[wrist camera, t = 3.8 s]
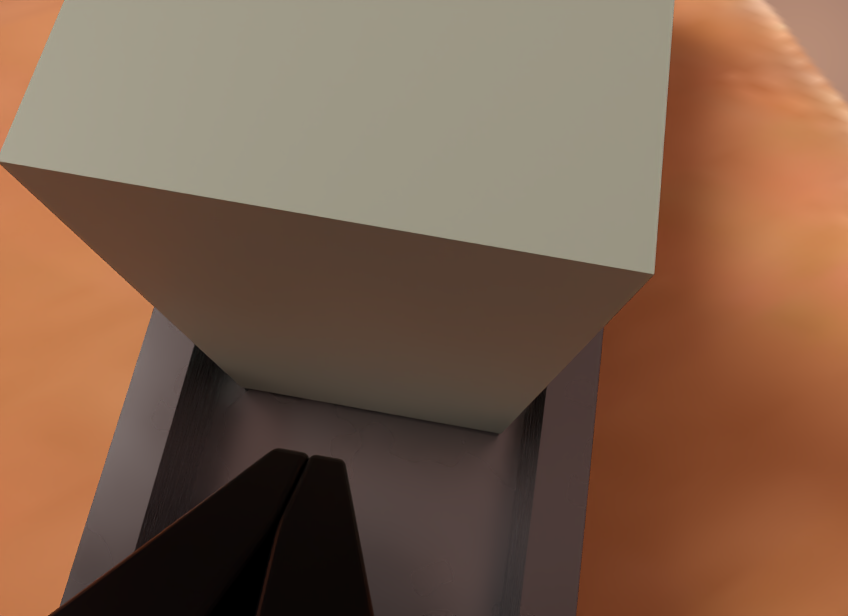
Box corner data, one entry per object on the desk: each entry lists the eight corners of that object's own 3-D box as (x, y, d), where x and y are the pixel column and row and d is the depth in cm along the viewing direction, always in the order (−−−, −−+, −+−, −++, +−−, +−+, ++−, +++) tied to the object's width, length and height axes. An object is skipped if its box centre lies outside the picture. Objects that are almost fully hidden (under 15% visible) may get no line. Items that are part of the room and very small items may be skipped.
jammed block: (501, 433, 16) (654, 274, 6) (241, 387, 16) (-4, 161, 6) (528, 234, 17) (685, -140, 8) (291, 193, 17) (158, -222, 8)
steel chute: (520, 998, 13) (559, 1151, 10) (19, 896, 14) (-103, 1013, 10) (622, 9, 21) (663, -91, 18) (298, -44, 21) (279, -152, 18)
